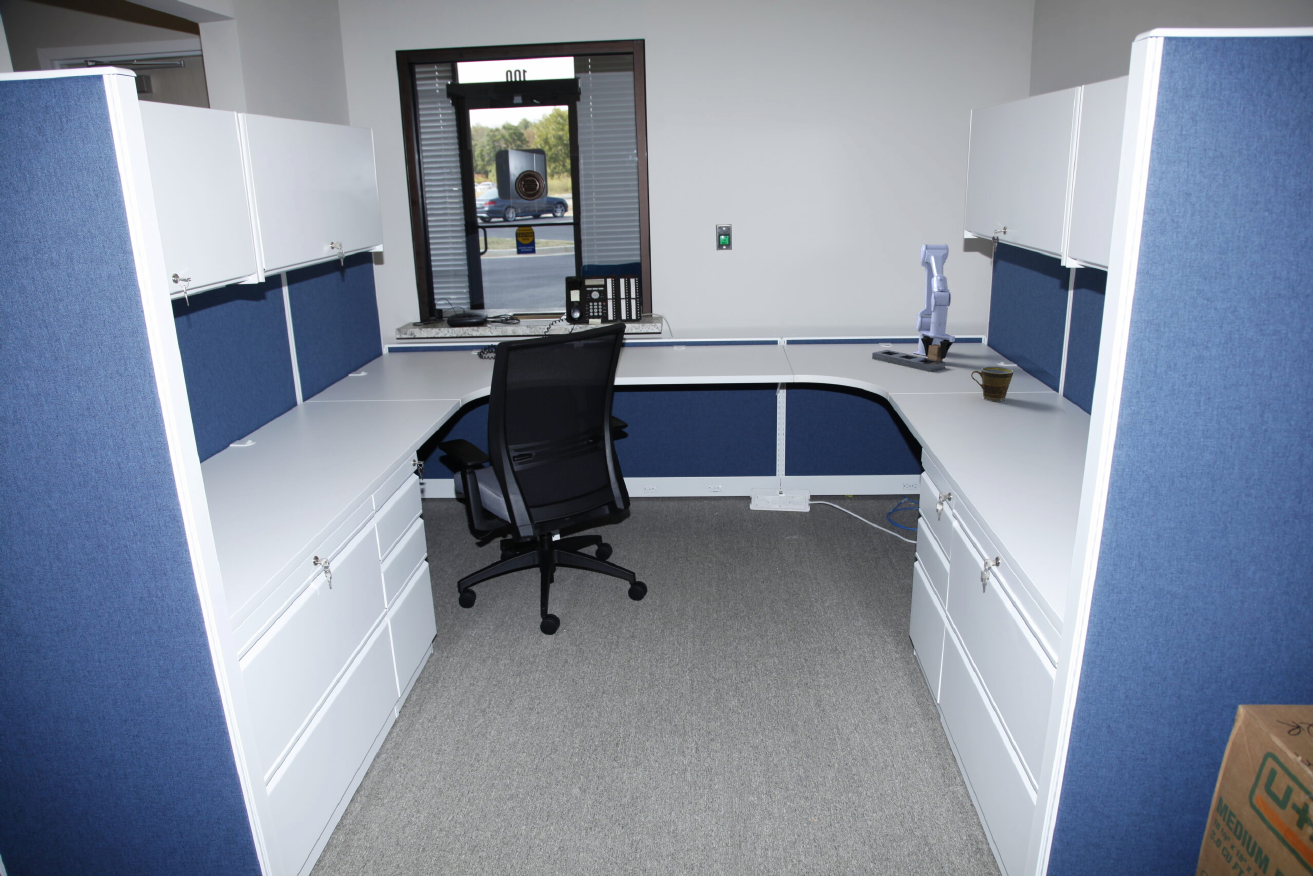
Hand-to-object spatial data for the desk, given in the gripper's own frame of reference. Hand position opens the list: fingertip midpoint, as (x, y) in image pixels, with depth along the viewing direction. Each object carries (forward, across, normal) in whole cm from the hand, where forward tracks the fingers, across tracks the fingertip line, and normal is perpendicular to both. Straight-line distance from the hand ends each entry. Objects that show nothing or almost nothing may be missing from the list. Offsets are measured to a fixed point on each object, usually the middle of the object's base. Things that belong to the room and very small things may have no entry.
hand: (935, 356), depth 332 cm
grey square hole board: (+2, -6, -9) cm, 11 cm away
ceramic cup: (+3, +43, -29) cm, 52 cm away
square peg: (+2, 0, 0) cm, 2 cm away
